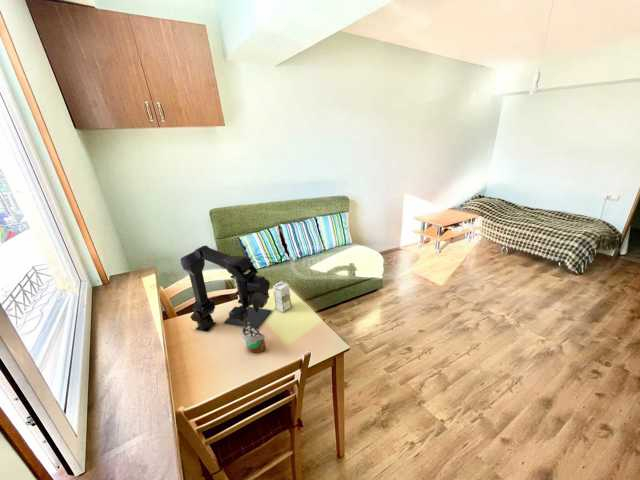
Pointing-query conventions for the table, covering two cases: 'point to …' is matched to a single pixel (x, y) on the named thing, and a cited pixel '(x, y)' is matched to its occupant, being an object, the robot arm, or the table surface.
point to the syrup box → (282, 296)
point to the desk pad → (251, 318)
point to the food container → (253, 339)
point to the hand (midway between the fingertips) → (251, 318)
